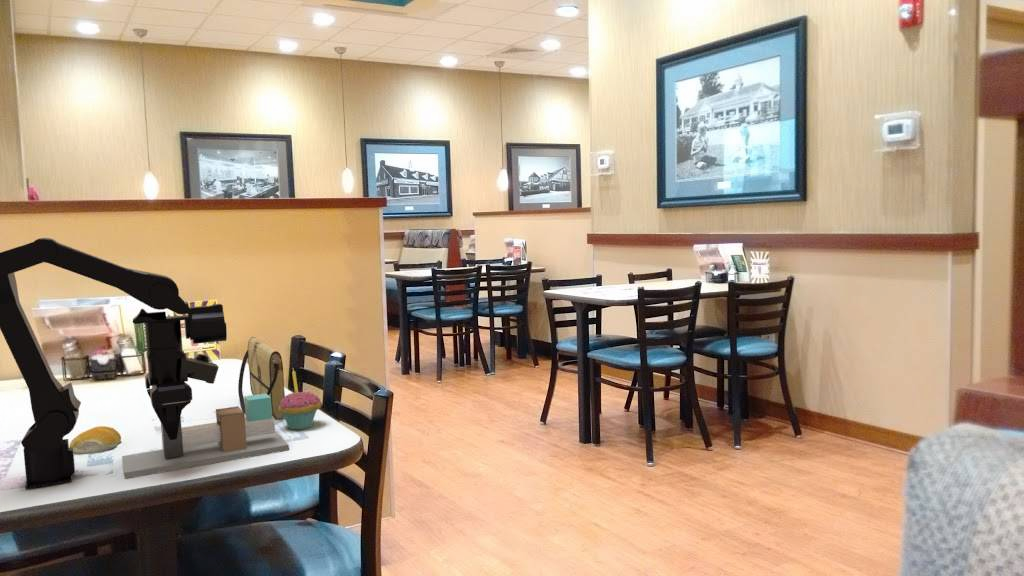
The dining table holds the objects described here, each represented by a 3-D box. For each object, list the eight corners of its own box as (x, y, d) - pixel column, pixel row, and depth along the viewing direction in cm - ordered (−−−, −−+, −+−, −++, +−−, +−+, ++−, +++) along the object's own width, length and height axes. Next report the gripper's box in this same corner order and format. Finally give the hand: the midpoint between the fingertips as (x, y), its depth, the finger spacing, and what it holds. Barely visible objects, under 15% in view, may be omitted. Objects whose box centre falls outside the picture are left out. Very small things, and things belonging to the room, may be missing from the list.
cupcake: (272, 427, 155) (268, 369, 154) (309, 418, 161) (305, 363, 160) (292, 434, 149) (288, 374, 148) (330, 425, 155) (327, 368, 154)
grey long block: (165, 458, 131) (161, 418, 131) (163, 452, 135) (160, 413, 134) (276, 439, 141) (273, 402, 140) (271, 435, 144) (269, 398, 143)
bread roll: (125, 439, 150) (123, 420, 150) (112, 452, 141) (110, 432, 141) (79, 443, 148) (78, 423, 148) (63, 457, 140) (61, 436, 139)
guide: (124, 478, 125) (121, 434, 125) (122, 461, 135) (119, 420, 134) (288, 449, 138) (286, 410, 138) (276, 436, 148) (273, 398, 147)
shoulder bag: (232, 399, 182) (227, 338, 181) (261, 395, 186) (257, 335, 184) (254, 426, 156) (250, 355, 155) (288, 421, 160) (284, 351, 158)
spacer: (249, 421, 138) (248, 400, 138) (245, 417, 141) (244, 396, 141) (271, 418, 140) (270, 397, 140) (267, 413, 143) (266, 393, 143)
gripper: (220, 348, 128) (226, 438, 129) (206, 335, 144) (211, 415, 145) (148, 356, 122) (155, 449, 124) (142, 342, 139) (148, 424, 140)
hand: (170, 433), depth 133 cm, fingers open, 9 cm apart
